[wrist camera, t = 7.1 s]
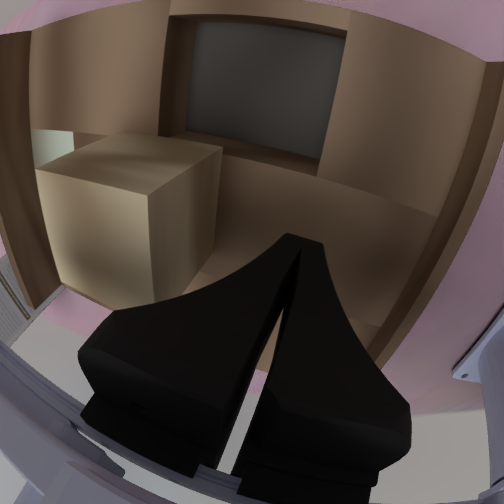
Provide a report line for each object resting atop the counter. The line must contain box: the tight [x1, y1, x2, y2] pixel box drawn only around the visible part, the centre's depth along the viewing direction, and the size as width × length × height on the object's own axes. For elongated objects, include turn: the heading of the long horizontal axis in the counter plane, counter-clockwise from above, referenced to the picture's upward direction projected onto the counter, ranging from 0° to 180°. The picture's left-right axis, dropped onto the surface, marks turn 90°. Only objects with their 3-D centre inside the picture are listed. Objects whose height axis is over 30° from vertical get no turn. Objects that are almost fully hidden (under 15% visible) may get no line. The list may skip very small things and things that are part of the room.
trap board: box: [0, 0, 504, 372], centre depth 12 cm, size 22×17×6 cm
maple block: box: [35, 131, 223, 310], centre depth 10 cm, size 4×4×4 cm
